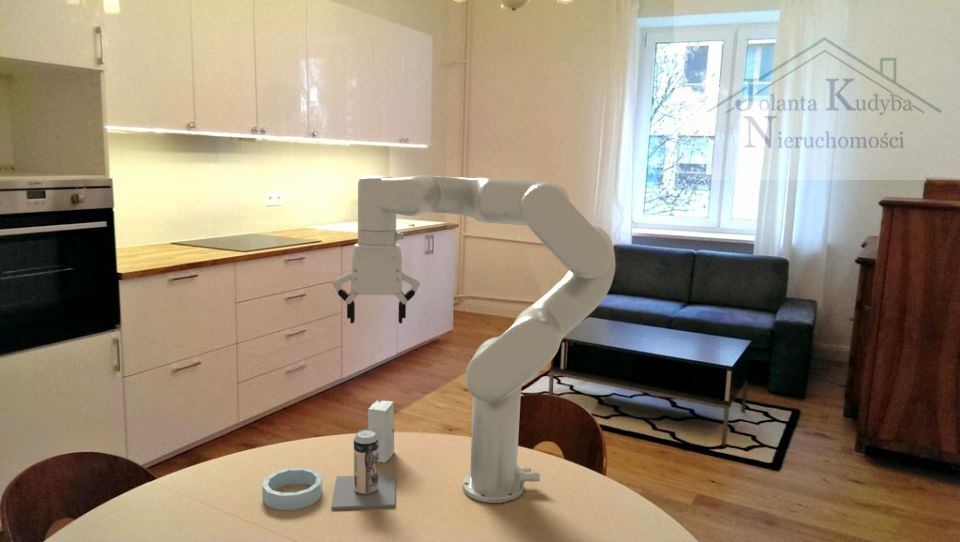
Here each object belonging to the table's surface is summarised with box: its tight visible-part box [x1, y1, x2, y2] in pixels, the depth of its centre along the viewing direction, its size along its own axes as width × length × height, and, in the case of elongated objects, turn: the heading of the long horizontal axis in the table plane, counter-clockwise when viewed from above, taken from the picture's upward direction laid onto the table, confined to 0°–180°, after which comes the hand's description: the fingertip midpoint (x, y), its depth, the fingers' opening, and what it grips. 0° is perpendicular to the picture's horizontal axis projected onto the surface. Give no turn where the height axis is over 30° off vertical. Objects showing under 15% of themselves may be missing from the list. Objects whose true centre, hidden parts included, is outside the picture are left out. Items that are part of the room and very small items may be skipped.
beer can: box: [353, 429, 379, 494], centre depth 131 cm, size 5×5×12 cm
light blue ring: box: [261, 467, 323, 511], centre depth 130 cm, size 11×11×3 cm
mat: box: [330, 474, 396, 511], centre depth 132 cm, size 12×12×1 cm
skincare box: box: [367, 399, 395, 464], centre depth 147 cm, size 6×4×12 cm
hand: (376, 321), depth 135 cm, fingers open, 9 cm apart
